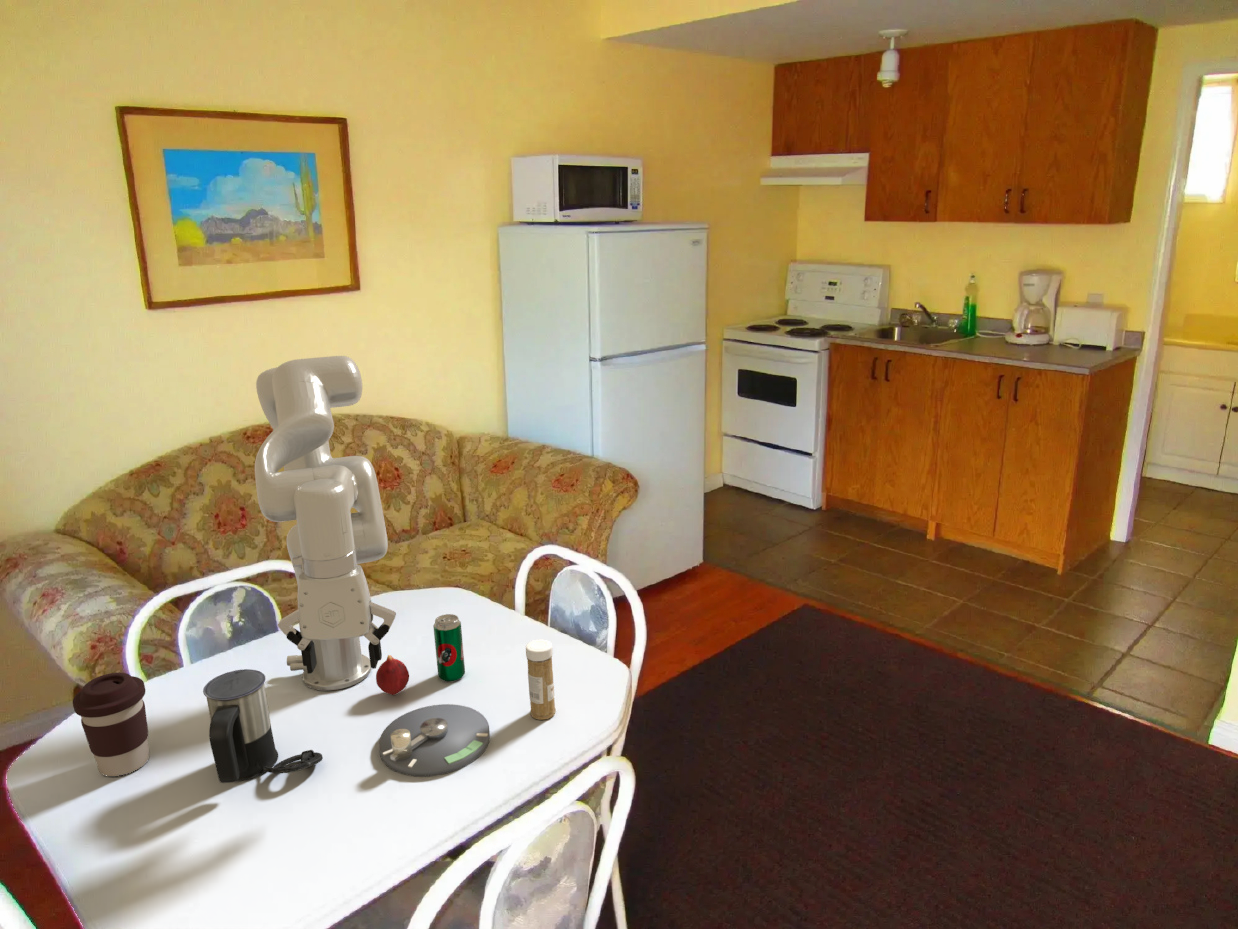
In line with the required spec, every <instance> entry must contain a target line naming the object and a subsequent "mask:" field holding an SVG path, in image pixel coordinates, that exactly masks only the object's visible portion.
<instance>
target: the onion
mask: <svg viewBox="0 0 1238 929" xmlns="http://www.w3.org/2000/svg"><path fill="white" fill-rule="evenodd" d="M375 681H376V682H375V683H376V685H377V687H378V688H379V689H380V690H381V691H382V692H383V693H385V694H387V695H391V696H396V695H397V694H399V693H400V692H402V691H403V690H405V689H406V688H407V685H408V682H409V681H410V673H409V670H408V668H407V666H406V665H405V663H404V662H402V661H401V660H399V659H398V658H394V657H393V656H392V655H390V654H387V657H386V660H385V661H383V662H382V663H381V664H380V665H379V667H378V669H377V671H376V675H375Z"/></svg>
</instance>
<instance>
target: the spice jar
mask: <svg viewBox="0 0 1238 929" xmlns="http://www.w3.org/2000/svg"><path fill="white" fill-rule="evenodd" d="M553 654H554V652H553V643H552V642H550V641H549V640H546V639H534V640H531V641H530V642H528V643H527V644H526V646H525V657H526V660H527V679H528V694H529V703H530V704H529V705H530V711H529V712H530V716H531V717H532V718H534V719H535V720H539V721H541V720H542V721H543V720H544V721H545V720H548V719H551V718H552V717H553V716H555V714H556V712H557V711H556V710H557V709H556V704H555V683H554V670H553V658H552V657H553Z"/></svg>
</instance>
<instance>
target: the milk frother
mask: <svg viewBox="0 0 1238 929" xmlns="http://www.w3.org/2000/svg"><path fill="white" fill-rule="evenodd" d="M265 682H266V675H265V674H264V673H263V672H262V671H260V670H256V669H247V668H245V669H237V670H236V669H235V670H232V671H227V672H224V673H222V674H220V675H218V676H215V677H213V678H212V679H211V680H209V681H208V682H207V683H206V684H205V685H204V686H203V689H202V693H203V696H204V697H206V702H207V707H208V712H209V719H210V724H209V733H208V737H209V739H208V740H209V743H210V744H209V745H210V748H211V752H212V757H213V761H214V765H215V769H216V773H217V777H218V781H219V782H220V783H222V784H227V783H228V784H229V783H235V782H238V781H240V780H241V781H247V780H250V779H254V778H257V777H258V776H261V775H263V774H266V773H270V774H287V773H288V774H289V773H293V772H298V771H301V770H304V769H307V768H310V767H314V766H315V765H317V764H319V763H321V762H322V761H323V754H322V753H320V752H316V751H314V750H313V749H309V750H308V749H307V750H304V751H302V752H301V753H299V754H296V755H292V756H290V757H287V758H285V759H283V760H281V761H279V762H278V760H279V752H278V750H277V749H276V744H275V741H274V736H273V735H274V734H273V729H272V724H271V718H270V711H269V705H268V699H267V691H266V686H265ZM298 761H299V763H297V764H293V765H289V764H292V763H295V762H298ZM287 765H289V766H287Z"/></svg>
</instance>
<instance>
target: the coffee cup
mask: <svg viewBox="0 0 1238 929" xmlns="http://www.w3.org/2000/svg"><path fill="white" fill-rule="evenodd" d="M145 686H146V685H145V681H143V679H142V678H140V677H139V676H138V677H137V676H134V675H133V676H132V675H130V674H129V673H125V672H111V673H105V674H103V675H100V676H96V677H94V678H93V679H91V680H89V681H88V682H87V683H86V684H84V685H83V687H82V689H81V690H80V691H79V692H77V693H76V695H75V696H74V697H73V699H72V707H73V710H74V713H75V714H76V715H78V716H80V717H81V719H80V722H81V725H82V730H83V732H84V735H85V738H86V741H87V744H88V747H89V750H90V752H91V754H92V755H93V756H94V759H95V763H96V766H97V770H98V771H99V773H100V774H101V773H102V774H104V775H107V776H106V777H108V776H118V777H120V776H119V775H123V774H126V775H128V774H127V773H129V774H131V772H132V773H134V772H136V771H138V770H140V769H141V768H142V767H144V765H145V764H147V762H148V761H149V758H150V748H149V740H148V737H149V727H148V721H147V713H146V712H147V710H146V705H145V701H144V699H143V698H144V696H145V695H146V687H145ZM147 760H148V761H147ZM140 767H141V768H140ZM137 769H138V770H137ZM135 770H136V771H135ZM133 771H134V772H133ZM102 774H101V775H102ZM104 775H103V776H104ZM123 776H124V775H123Z"/></svg>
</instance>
